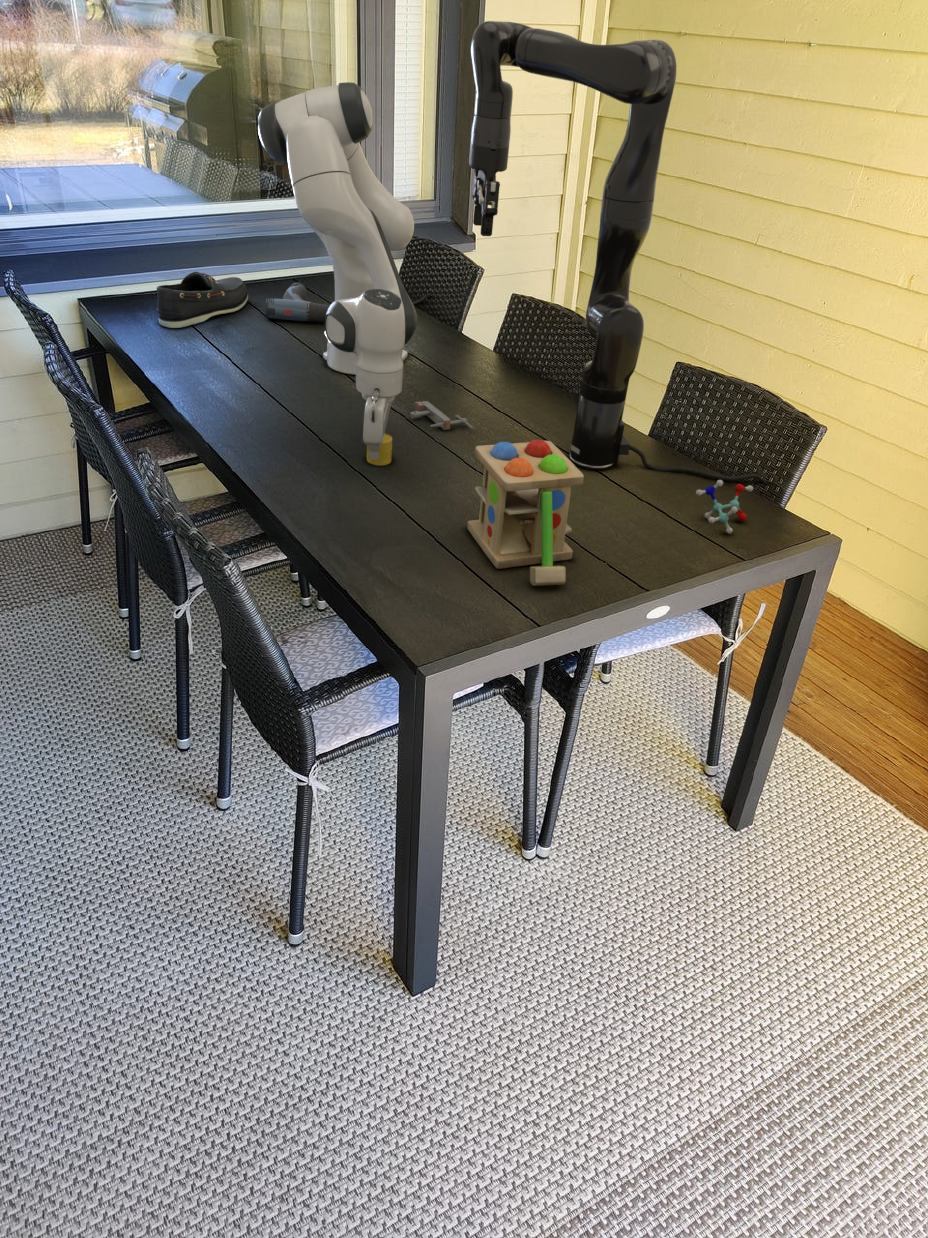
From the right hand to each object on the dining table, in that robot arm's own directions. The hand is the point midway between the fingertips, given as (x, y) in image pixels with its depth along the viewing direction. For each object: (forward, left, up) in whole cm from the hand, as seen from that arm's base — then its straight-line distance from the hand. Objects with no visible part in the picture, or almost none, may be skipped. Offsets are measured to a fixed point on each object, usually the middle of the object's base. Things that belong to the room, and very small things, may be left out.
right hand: (482, 230), depth 198 cm
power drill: (+33, -67, -39) cm, 84 cm away
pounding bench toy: (0, +63, -39) cm, 74 cm away
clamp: (+7, +7, -39) cm, 40 cm away
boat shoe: (+60, -65, -39) cm, 96 cm away
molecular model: (-40, +52, -39) cm, 76 cm away
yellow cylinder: (+22, +25, -39) cm, 51 cm away
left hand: (+22, +25, -36) cm, 50 cm away
